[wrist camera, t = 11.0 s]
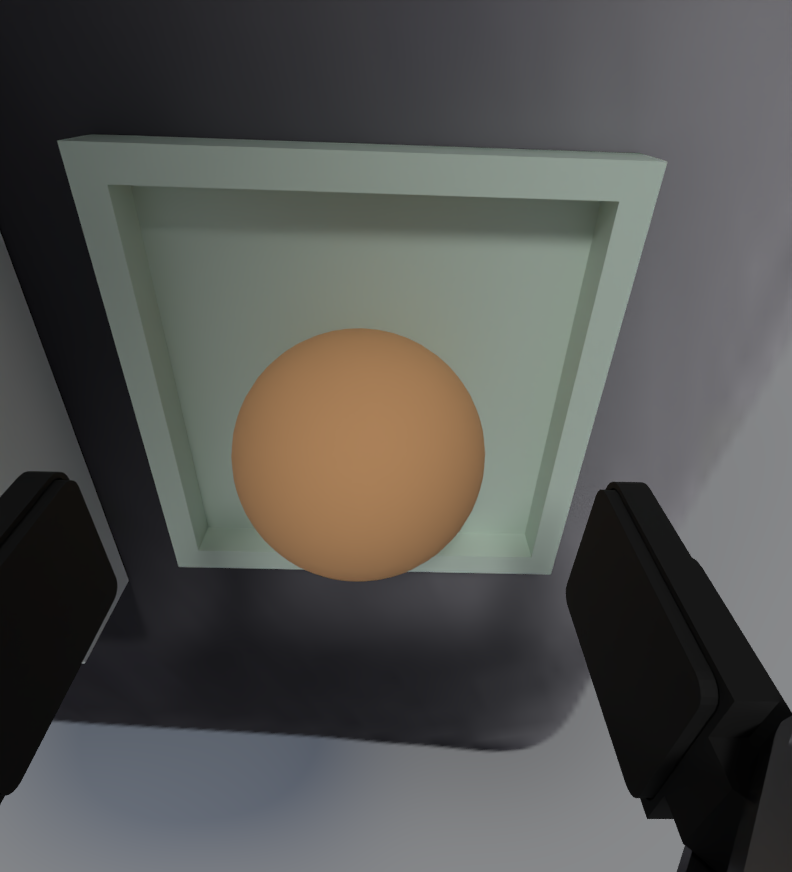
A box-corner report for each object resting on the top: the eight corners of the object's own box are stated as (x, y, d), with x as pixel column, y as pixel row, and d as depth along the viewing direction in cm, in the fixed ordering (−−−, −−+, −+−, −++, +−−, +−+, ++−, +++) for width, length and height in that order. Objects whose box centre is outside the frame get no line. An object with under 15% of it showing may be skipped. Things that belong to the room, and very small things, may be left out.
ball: (250, 287, 14) (164, 409, 9) (482, 295, 14) (529, 419, 9) (273, 471, 17) (221, 634, 12) (459, 476, 17) (484, 640, 12)
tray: (91, 133, 12) (56, 140, 11) (639, 152, 12) (667, 161, 11) (192, 535, 19) (178, 567, 18) (540, 542, 19) (550, 574, 18)
